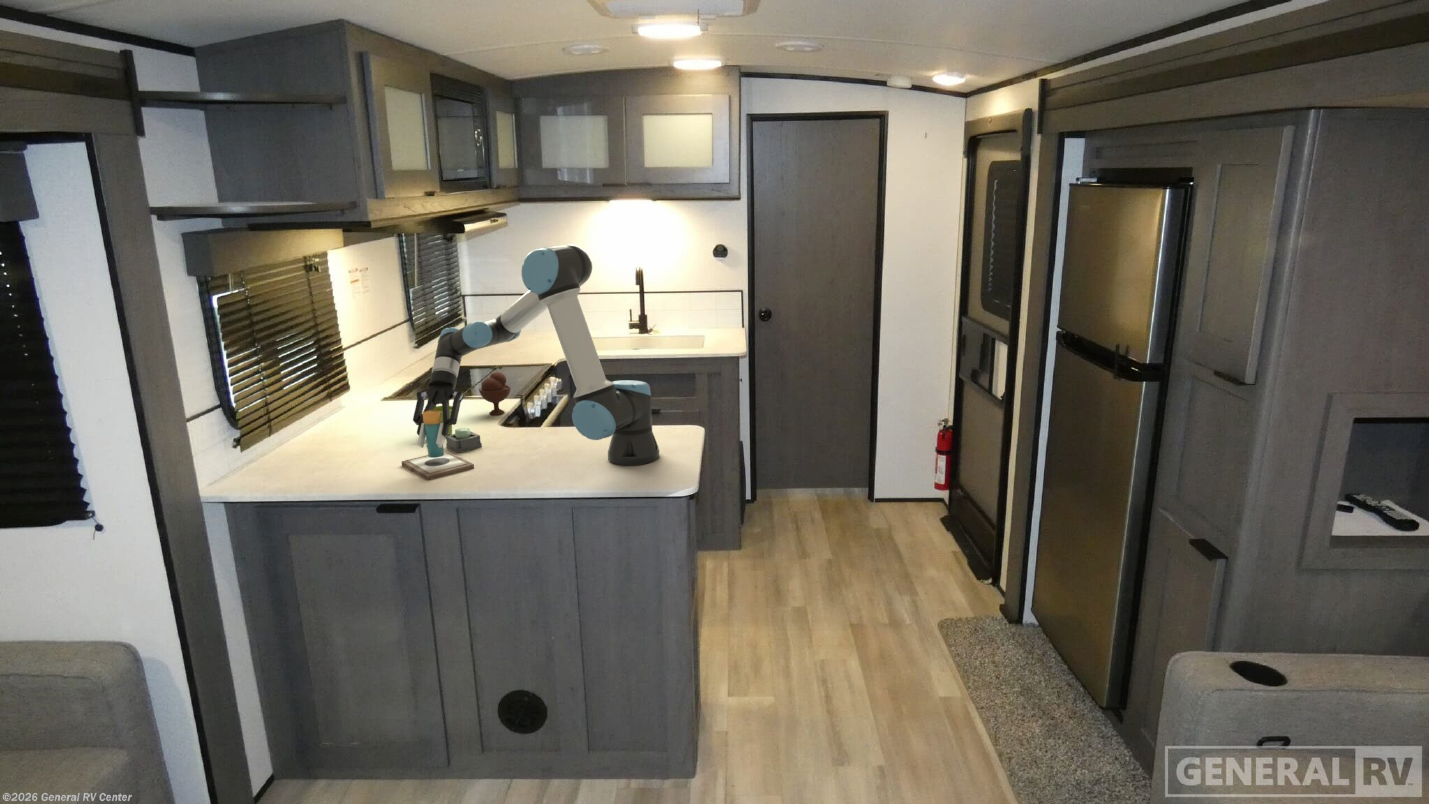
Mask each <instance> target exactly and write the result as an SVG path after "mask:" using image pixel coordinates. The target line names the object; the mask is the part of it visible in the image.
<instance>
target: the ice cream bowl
mask: <svg viewBox="0 0 1429 804" xmlns="http://www.w3.org/2000/svg"><path fill="white" fill-rule="evenodd" d="M506 383H507V377H506V375H505V374H504V373H502V372H499V371H495V372H492V373H491V374H490V375H489V377H486V379H484V380H483V381H482V382H481V387H479V388H478V391H479V393H480V395H481V398H483V399H484V400H485V401H486V402H489V403H492V405H493V409H492V410H491V411H489V413H488V414H489V416H493V417H495V416H502V415H504V414H506V412H505V410H503V409H501V408H500V406H499V404H500V402H503V401H504V400H505V399H507V398H508V396H509V395H510V392H511V386H510V384H506Z"/></svg>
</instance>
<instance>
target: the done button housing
mask: <svg viewBox="0 0 1429 804" xmlns="http://www.w3.org/2000/svg"><path fill="white" fill-rule="evenodd" d="M445 439H446V443H445V446H446V448H448V449H449V450H451V451H454V452H456V453H461V452H462V453H463V452H467V451H470V450H474V449H478V448H482V446H483V445H482V442H481V435H480V434H477V433H476V432H473V431H470V437H468V438H464V439H460V440H458V439H456V436H455V433H452V434H450V435H449V434H448V435H447V436H445Z"/></svg>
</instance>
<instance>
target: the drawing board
mask: <svg viewBox="0 0 1429 804" xmlns="http://www.w3.org/2000/svg"><path fill="white" fill-rule="evenodd" d="M400 463H401V466H402V467H404V468H406V469H408V470H409V471H410V472H413V473H415V475H418V476H420V477H422V478H423V479H425V480H427V481H429V480H434V479H436V478H437V479H438V478H441V477H445V476H448V475H453V474H456V473H461V472H465V471H467V470H472V469H474V468H475V465H474V463H473V462H470V461H468V460H467V459H465V458H463V457H460V456H459V455H457V454H454V453H452V452H450V451H449V450H444V455H443V456H441V457H436V458H431V457H428V454H426V455H422V456H418V457H414V458H410V459H406V460H405V459H404V460H401V462H400Z"/></svg>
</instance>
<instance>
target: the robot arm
mask: <svg viewBox="0 0 1429 804" xmlns="http://www.w3.org/2000/svg"><path fill="white" fill-rule="evenodd" d="M592 271H593V262H592V259H591V257H590V254H589V253H588V252H587V251H586V250H585V249H584V248H583V247H580V246H578V245H575V244H564V245H557V246H556V245H555V246H544V247H541V248H539V249H534V250H532V251H530V252H528V254H527V255H526V256H525V257H524V260H523V263H522V264H521V271H520V272H521V280H522V282H523V284H524V286H525V288H526V290H527V292H525V293H524V294H523V295H521V297H519V298H518V299H517V300H516V301H514V302H513V303H512V304H511V305H509V307H508V308H506V309H505V310H504V311H503V312H502V313H501V314H500V315H498V316H497V317H496V318H494V319H489V320H487V321H482V320H475V321H473V322H470V323H468V324H467V325H465V326H463V327H462V328H460V329H459V328H457V327H452V326H451V327H446V328H444V329H442V330H441V332H440V335H439V337H438V340H437V347H436V352H435V357H434V361H433V364H432V365H433V366H432V369H431V374H430V377H429V378H430V379H429V382H428V383H429V384H428V387H427V389H426V391H424V392H421V391H417V392H416V397H417V398H416V404H415V408H414V413H413V417H412V421H413V423H414V424H415V425H416V426H417V431H416V435H418V438H417V442H416V443H417V445H418V446H419V447H420V448H422V449H423V448H424V445H425V441H426V432H425V424H424V422H423V412H425V411H428V410H433V409H434V408H435V407H436V406H438V405H441V406H442V410H443V420H442V421H443V422H444V424H443V423H440V427H439V431H438V436H437V441H436V444H437V445H438V447H442V444H443V445H444V440H445V439H444V438H445V437H446V436H448V435H449V434H448V429H449V426H450V425H452V426H453V425H454V426H455V425H456V424H457V422H458V417H459V413H460V412H459V411H460V407H461V403H462V401H463V400H464V395H463V393H462V392H461V391H456V386H457V382H458V376H459V370H460V366H461V362H462V358H463V357H464V356H466V355H468V354H471V353H472V352H474V351H477V350H481V349H484V348H487V347H491V346H496V345H500V344H503V343H509V342H512V341H514V340H516V339H518V338H519V336H520V335H521V333H522V330H523V329H524V328H526V327H527V326H528V325H529V324H530V323H532V322H533V321H534V320H535V319H536V318H538V317H539V316H540V315H541V314H543V313H544V312H545V311H546V310H548V312H549V315H550V318H551V321H552V324H553V327H554V329H555V332H556V335H557V338H558V341H559V343H560V347H561V349H562V352H563V355H564V358H565V361H566V363H567V366H568V368H569V372H570V374H571V377H572V380H573V383H574V385H575V388H576V390H575V393H574V394H573V400H574V403H575V405H574V407H573V409H572V413H571V418H572V424H573V426H574V427H575V429H576V430H577V432H579V434H581V435H582V436H583V437H585V438H587V439H588V440H591V441H600V440H603V439H607V438H610V437H611V439H610V442H609V446H608V450H607V459H608V461H609V462H610V463H612V464H614V465H618V466H619V465H621V466H640V465H646V464H649V463H650V464H651V463H653V462H655V461H657V460H658V459H659V458H660V448H659V445H658V443H657V440H656V437H655V435H654V432H653V416H652V394H651V387H650V384H649V383H647V382H645V381H641V380H629V379H627V380H626V379H625V380H622V379H621V380H614V381H610V380H609V379H607V378H606V375H605V372H604V370H603V367H602V363H601V361H600V358H599V355H598V352H597V349H596V347H595V343H594V341H593V340H594V339H593V338H592V335H591V333H590V329H589V326H588V323H587V321H586V318H585V315H584V311H583V309H582V306H581V304H580V300H579V297H578V296H579V293H580V291H581V286H583V285H585V283H586V282H587V281H588V280H589V278H590V277H591V275H592ZM427 397H428V399H427ZM452 398H453V400H452ZM426 399H427V403H426V406H425V401H426ZM451 400H452V401H453V402H452V405H451V406H452V411H451V416H449V406H450V401H451ZM447 434H448V435H447Z"/></svg>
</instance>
